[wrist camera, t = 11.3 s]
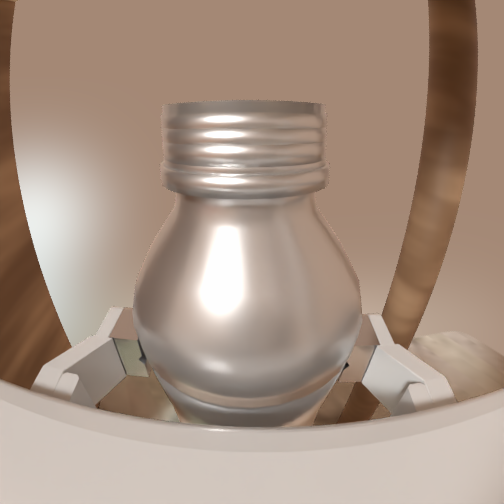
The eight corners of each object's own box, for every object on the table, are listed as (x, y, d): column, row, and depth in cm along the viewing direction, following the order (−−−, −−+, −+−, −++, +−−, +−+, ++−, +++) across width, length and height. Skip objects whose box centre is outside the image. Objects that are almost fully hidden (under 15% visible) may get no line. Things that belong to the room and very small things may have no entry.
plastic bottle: (206, 433, 19) (163, 106, 10) (303, 444, 18) (363, 109, 9) (183, 511, 13) (22, 129, 4) (296, 527, 12) (456, 123, 3)
